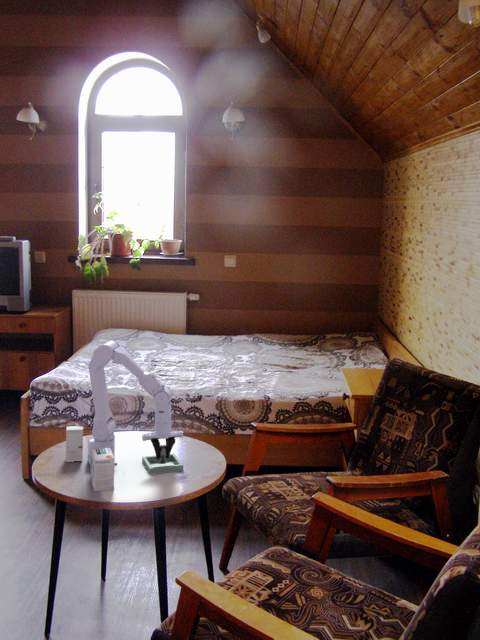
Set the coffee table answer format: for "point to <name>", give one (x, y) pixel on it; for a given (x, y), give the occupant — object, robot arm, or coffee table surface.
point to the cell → (162, 454)
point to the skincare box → (74, 443)
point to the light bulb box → (102, 469)
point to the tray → (162, 468)
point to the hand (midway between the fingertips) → (162, 457)
